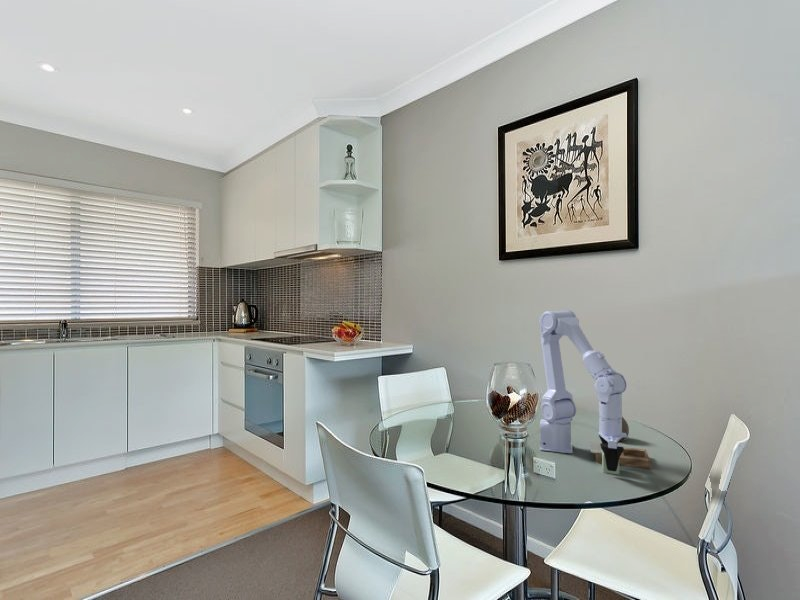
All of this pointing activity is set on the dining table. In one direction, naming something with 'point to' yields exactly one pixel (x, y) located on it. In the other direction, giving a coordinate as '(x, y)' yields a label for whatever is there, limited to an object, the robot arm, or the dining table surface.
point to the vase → (624, 429)
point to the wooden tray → (631, 458)
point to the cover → (595, 447)
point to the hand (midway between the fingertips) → (610, 465)
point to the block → (606, 466)
